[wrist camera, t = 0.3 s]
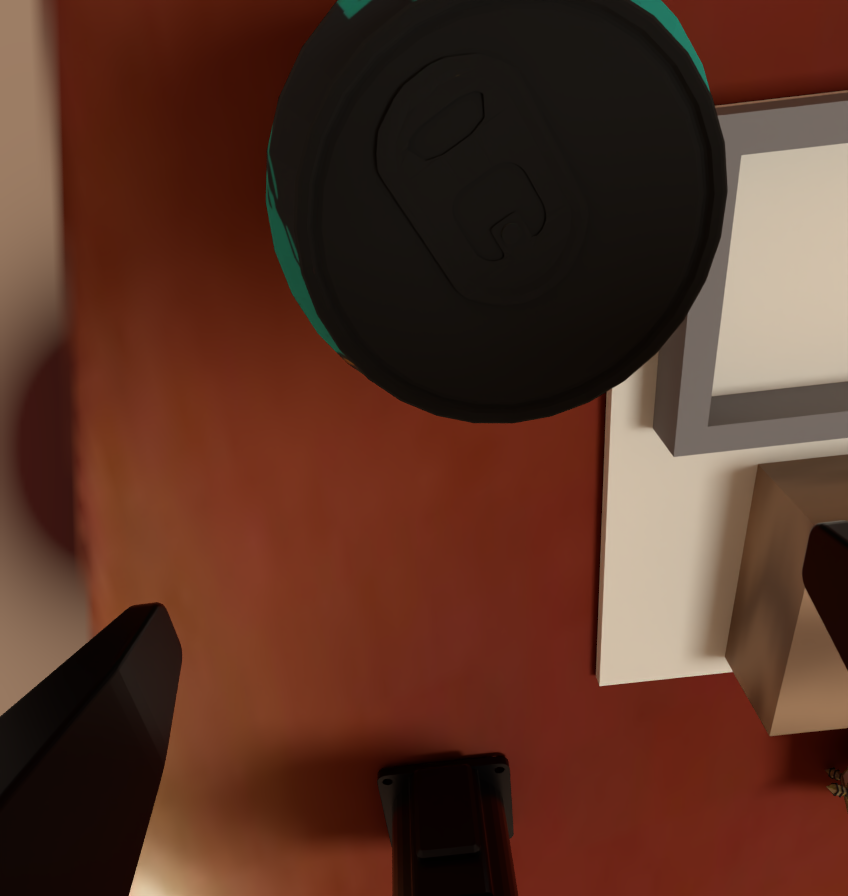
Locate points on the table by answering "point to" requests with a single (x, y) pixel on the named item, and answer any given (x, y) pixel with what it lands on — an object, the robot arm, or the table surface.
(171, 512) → the table surface
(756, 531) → the card box
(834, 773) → the game die
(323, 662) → the table surface
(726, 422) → the mat
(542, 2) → the beverage can
